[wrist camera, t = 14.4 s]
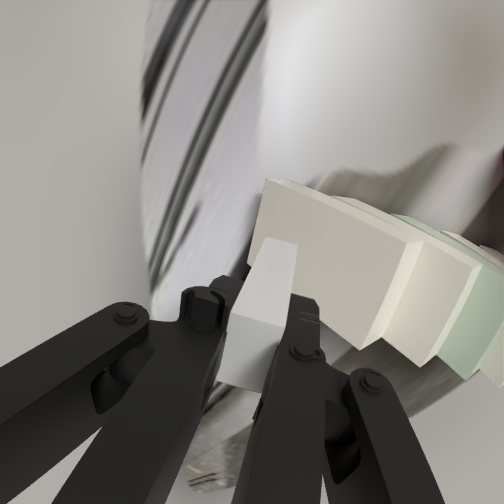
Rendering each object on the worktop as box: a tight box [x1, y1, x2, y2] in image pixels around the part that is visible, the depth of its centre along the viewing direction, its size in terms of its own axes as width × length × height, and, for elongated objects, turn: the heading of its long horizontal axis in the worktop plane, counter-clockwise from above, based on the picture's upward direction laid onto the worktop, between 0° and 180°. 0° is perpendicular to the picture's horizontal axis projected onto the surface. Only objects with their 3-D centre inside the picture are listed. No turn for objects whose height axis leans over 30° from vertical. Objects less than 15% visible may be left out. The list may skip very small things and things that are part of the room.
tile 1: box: [247, 178, 424, 350], centre depth 17 cm, size 6×2×10 cm
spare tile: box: [391, 214, 504, 380], centre depth 16 cm, size 6×2×10 cm
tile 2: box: [332, 196, 483, 367], centre depth 17 cm, size 6×2×10 cm
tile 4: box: [440, 230, 504, 388], centre depth 16 cm, size 6×2×10 cm, turn 168°
